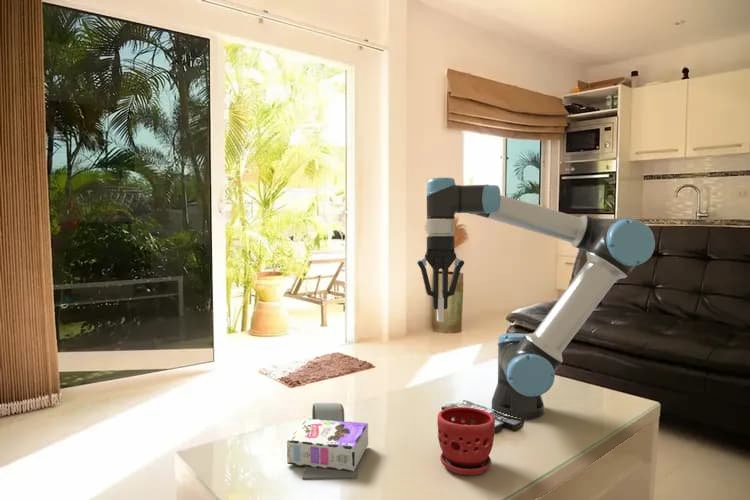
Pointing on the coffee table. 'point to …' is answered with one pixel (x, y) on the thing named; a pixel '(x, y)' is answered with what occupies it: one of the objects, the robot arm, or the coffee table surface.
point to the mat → (327, 473)
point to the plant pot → (465, 439)
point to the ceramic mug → (328, 411)
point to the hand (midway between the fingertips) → (440, 320)
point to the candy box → (328, 444)
